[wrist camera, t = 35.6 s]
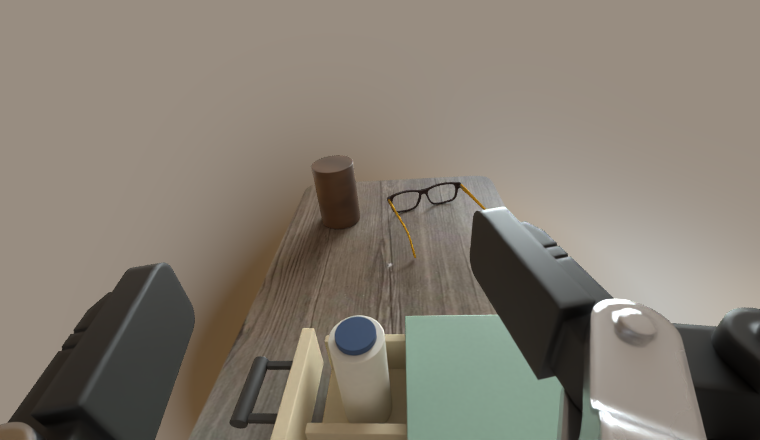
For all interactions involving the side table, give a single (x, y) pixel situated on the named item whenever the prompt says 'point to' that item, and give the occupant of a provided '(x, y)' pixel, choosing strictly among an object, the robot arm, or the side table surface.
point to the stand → (336, 191)
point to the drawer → (335, 433)
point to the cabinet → (474, 383)
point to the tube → (361, 369)
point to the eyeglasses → (425, 191)
